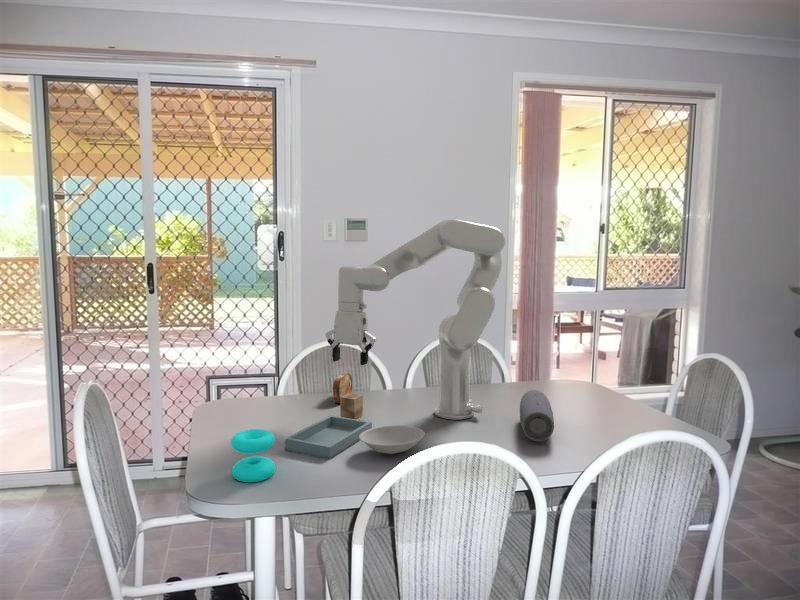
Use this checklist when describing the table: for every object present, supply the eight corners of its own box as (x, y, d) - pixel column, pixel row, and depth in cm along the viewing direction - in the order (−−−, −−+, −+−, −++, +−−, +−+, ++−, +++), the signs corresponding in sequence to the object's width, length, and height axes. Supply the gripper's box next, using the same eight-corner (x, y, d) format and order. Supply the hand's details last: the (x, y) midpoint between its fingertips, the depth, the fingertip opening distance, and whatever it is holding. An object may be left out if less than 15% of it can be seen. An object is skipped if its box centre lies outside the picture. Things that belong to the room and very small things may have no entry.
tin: (340, 406, 192) (340, 381, 191) (331, 405, 193) (331, 380, 192) (353, 394, 207) (353, 370, 206) (344, 393, 207) (344, 370, 206)
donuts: (282, 430, 139) (258, 444, 130) (283, 470, 140) (259, 487, 131) (247, 425, 143) (221, 438, 133) (248, 464, 144) (223, 480, 135)
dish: (372, 469, 141) (372, 449, 141) (350, 449, 154) (350, 431, 153) (435, 456, 149) (435, 438, 149) (409, 439, 162) (409, 421, 161)
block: (362, 417, 181) (362, 395, 180) (354, 421, 177) (354, 399, 176) (348, 414, 183) (348, 393, 182) (340, 419, 179) (340, 397, 178)
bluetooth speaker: (555, 447, 156) (556, 411, 155) (520, 444, 158) (521, 409, 157) (549, 420, 178) (550, 388, 177) (518, 418, 180) (519, 387, 179)
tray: (371, 432, 167) (371, 422, 166) (330, 459, 147) (330, 447, 147) (330, 425, 173) (330, 415, 172) (285, 450, 153) (284, 438, 153)
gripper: (381, 307, 175) (380, 363, 177) (333, 303, 183) (332, 357, 185) (369, 310, 169) (368, 368, 171) (319, 306, 176) (319, 361, 178)
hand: (349, 362), depth 178 cm, fingers open, 9 cm apart
